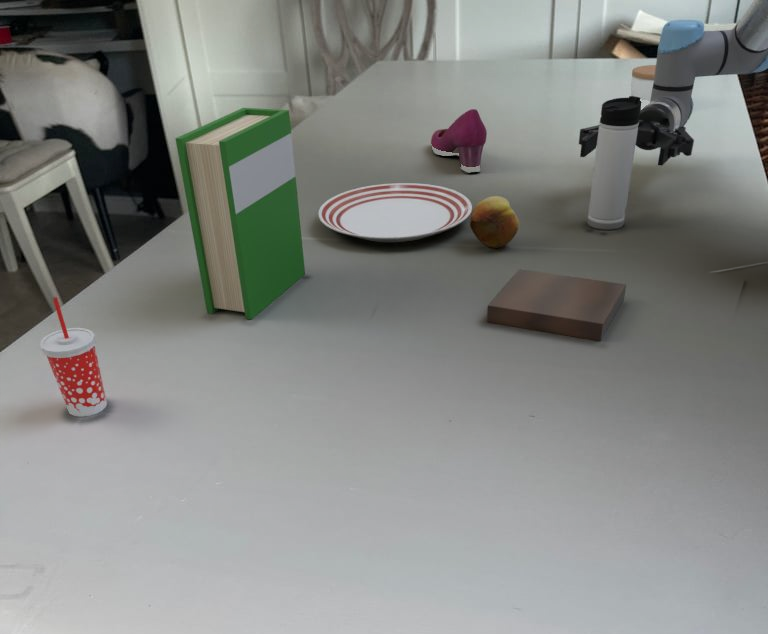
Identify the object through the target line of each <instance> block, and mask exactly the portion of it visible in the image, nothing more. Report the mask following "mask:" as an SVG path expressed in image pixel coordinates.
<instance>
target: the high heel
mask: <svg viewBox="0 0 768 634" xmlns="http://www.w3.org/2000/svg"><path fill="white" fill-rule="evenodd" d="M487 131H488V130H487V127H486V126H485V124H484V122H483V120H482V117H481V116H480V113H479V111H478V110H477V109H474V108H471V109H470V110H467V111H465V112H464V113H462V114H461V115H460V116H458V117H457V118H456V119H455V120H454V121H453V122H452V123H451V124H450V125H449V127H448V128H440V129H437V130H435V131H434V132H433V134H432V135H431V140H430V145H431V144H432V146H433V147H434V148H436V149H438V150H441V151H446V152H452V153H459V156H458V157H459V164H460V163H461V164H462V165H463V166H466V167H476V166H479V165H480V164H482V153H483V151H484V150H483V149H484V146H485V144H486V142H487V134H488V133H487ZM480 166H481V165H480ZM463 173H465V174H467V173H466V172H463Z"/></svg>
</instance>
